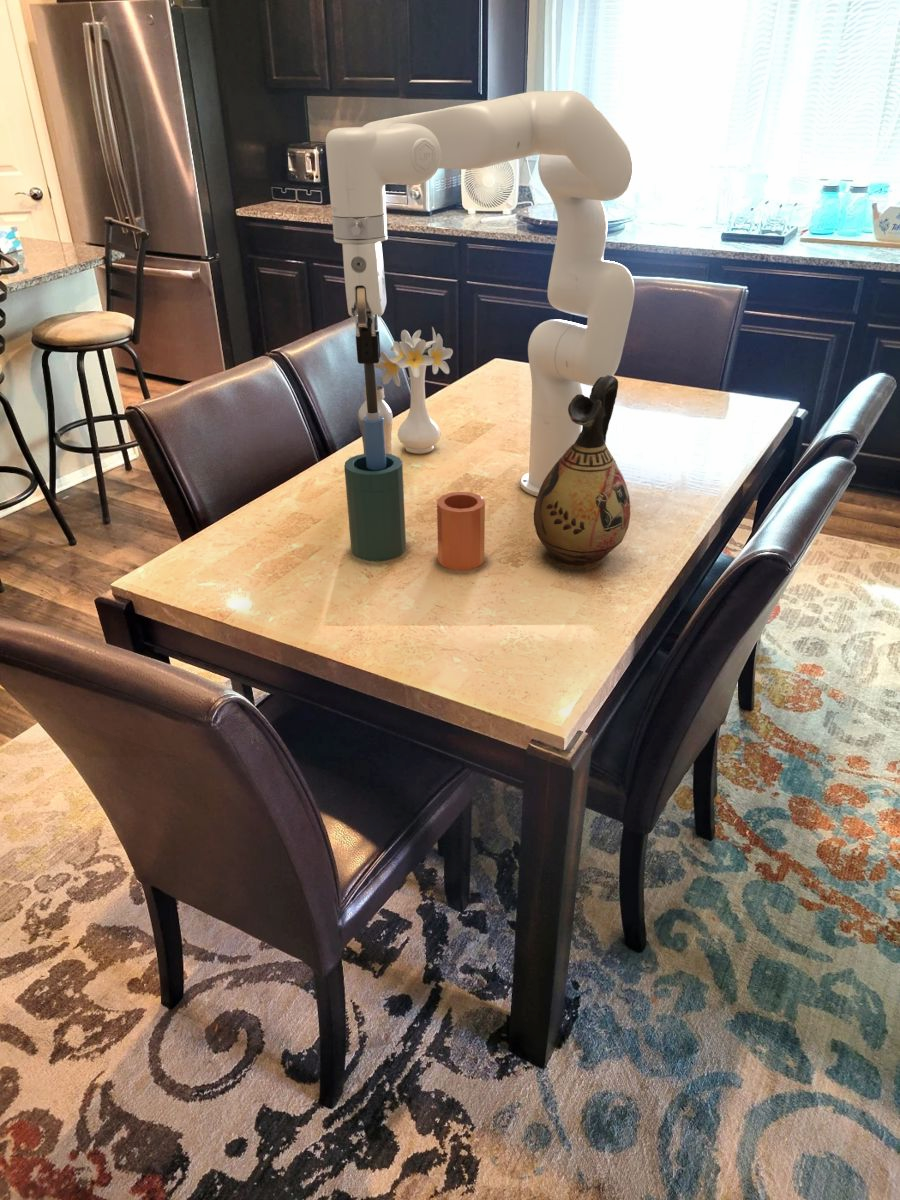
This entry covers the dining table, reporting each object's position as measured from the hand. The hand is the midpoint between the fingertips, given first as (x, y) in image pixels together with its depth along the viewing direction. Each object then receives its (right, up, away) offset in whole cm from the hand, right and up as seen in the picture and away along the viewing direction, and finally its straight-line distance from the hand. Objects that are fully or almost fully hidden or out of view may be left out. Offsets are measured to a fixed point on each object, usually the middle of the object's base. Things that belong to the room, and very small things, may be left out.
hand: (369, 359), depth 128 cm
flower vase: (+6, -4, +57) cm, 57 cm away
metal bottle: (-2, -14, +40) cm, 42 cm away
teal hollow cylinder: (0, -28, +17) cm, 32 cm away
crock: (+14, -30, +13) cm, 35 cm away
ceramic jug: (+34, -29, +14) cm, 47 cm away
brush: (0, -15, +9) cm, 17 cm away
